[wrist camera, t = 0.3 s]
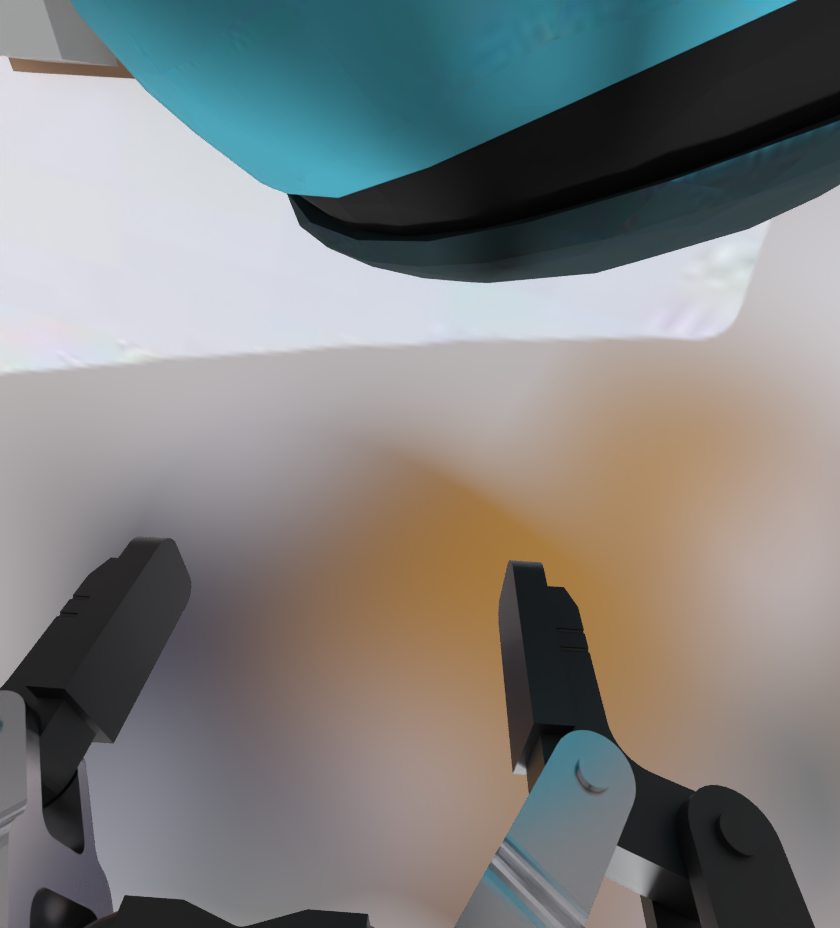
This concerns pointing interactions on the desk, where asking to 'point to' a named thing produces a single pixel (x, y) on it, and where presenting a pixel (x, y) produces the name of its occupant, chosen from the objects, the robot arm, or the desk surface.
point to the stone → (49, 34)
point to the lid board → (70, 68)
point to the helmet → (503, 119)
